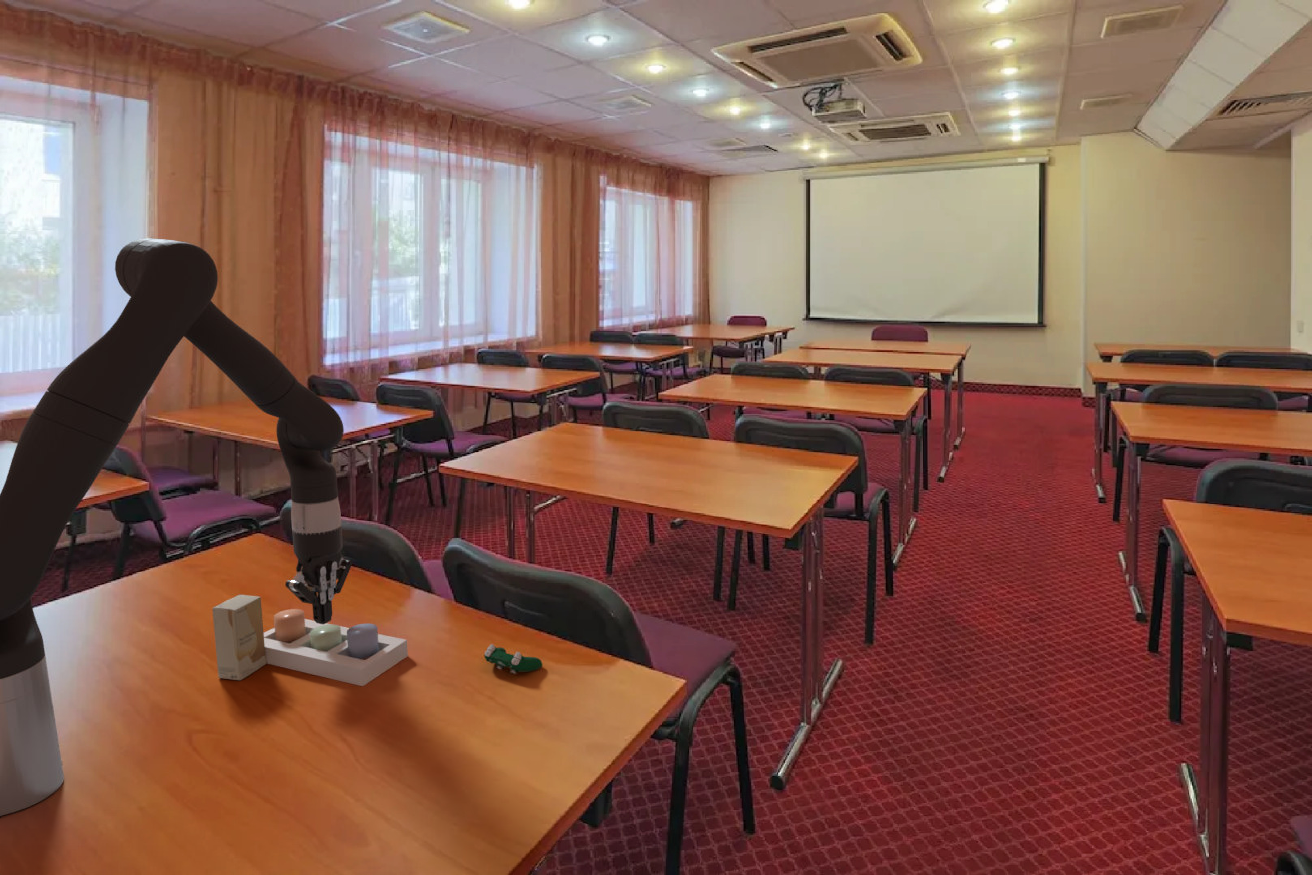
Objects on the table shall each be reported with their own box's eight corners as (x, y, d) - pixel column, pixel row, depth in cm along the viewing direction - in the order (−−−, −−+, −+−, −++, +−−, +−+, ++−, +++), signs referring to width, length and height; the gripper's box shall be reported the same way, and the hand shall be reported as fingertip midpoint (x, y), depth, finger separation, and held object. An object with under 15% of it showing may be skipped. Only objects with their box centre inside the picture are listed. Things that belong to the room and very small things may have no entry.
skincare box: (240, 681, 121) (233, 610, 118) (217, 678, 122) (209, 608, 119) (268, 663, 127) (262, 595, 125) (246, 660, 128) (239, 592, 125)
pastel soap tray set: (362, 686, 120) (361, 668, 119) (246, 658, 128) (244, 642, 128) (407, 655, 130) (406, 639, 129) (297, 632, 138) (295, 616, 138)
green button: (327, 660, 126) (325, 638, 125) (305, 655, 128) (303, 633, 127) (348, 648, 130) (346, 627, 130) (326, 643, 132) (325, 622, 131)
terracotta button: (290, 644, 128) (288, 622, 128) (269, 639, 130) (267, 617, 129) (312, 632, 133) (310, 611, 132) (291, 628, 134) (289, 607, 134)
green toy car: (493, 670, 129) (475, 658, 125) (502, 649, 131) (485, 636, 127) (536, 683, 125) (519, 671, 121) (545, 661, 127) (529, 649, 122)
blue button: (365, 660, 123) (363, 638, 122) (341, 655, 125) (340, 633, 124) (385, 648, 127) (383, 626, 127) (362, 643, 129) (361, 621, 128)
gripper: (303, 539, 117) (310, 642, 120) (363, 516, 129) (368, 610, 133) (266, 533, 120) (275, 634, 123) (328, 512, 132) (334, 604, 135)
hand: (323, 621), depth 128 cm, fingers closed
